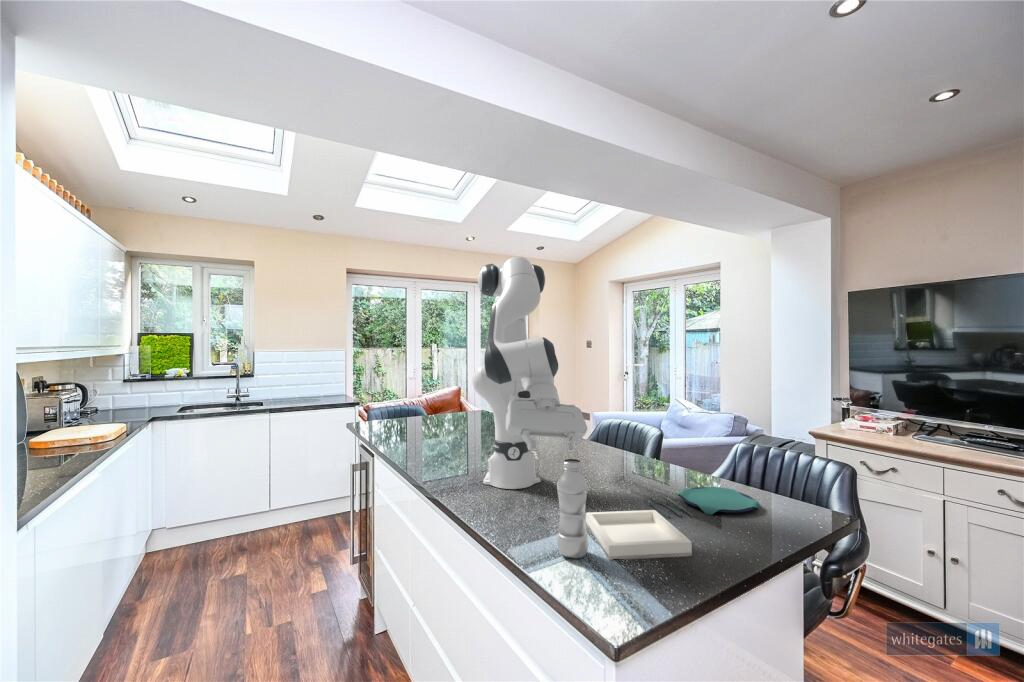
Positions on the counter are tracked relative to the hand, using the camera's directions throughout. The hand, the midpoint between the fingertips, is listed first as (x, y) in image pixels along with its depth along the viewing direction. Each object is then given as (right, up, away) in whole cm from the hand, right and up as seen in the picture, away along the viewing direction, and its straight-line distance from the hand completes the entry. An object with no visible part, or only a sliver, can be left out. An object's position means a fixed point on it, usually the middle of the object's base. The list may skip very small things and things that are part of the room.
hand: (551, 450), depth 100 cm
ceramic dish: (+19, -20, -1) cm, 28 cm away
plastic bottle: (+4, -20, -9) cm, 22 cm away
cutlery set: (+44, -21, +21) cm, 53 cm away
